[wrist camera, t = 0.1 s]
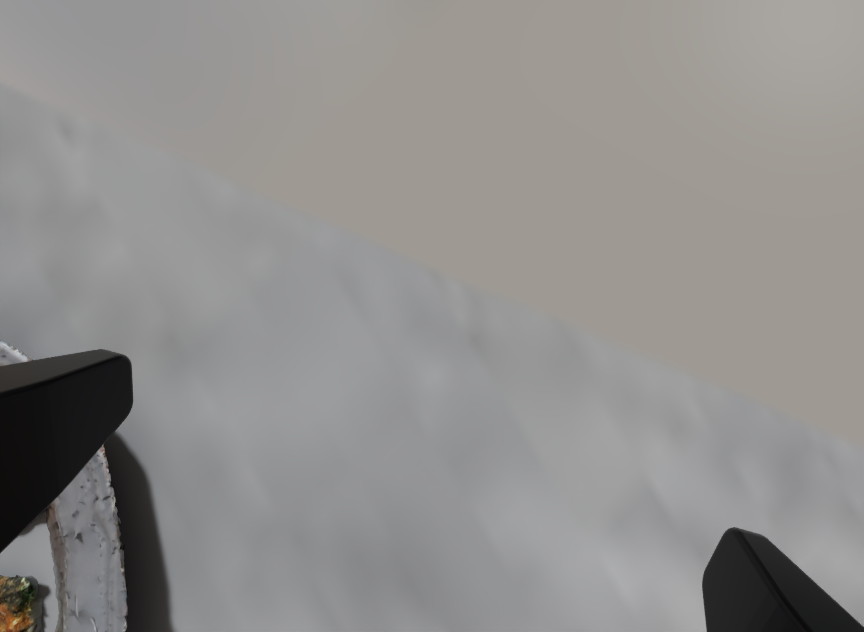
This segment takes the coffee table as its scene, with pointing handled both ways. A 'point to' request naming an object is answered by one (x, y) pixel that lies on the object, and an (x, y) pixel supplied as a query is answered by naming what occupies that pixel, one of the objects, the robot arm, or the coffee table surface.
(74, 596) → the food plate
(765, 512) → the coffee table surface
